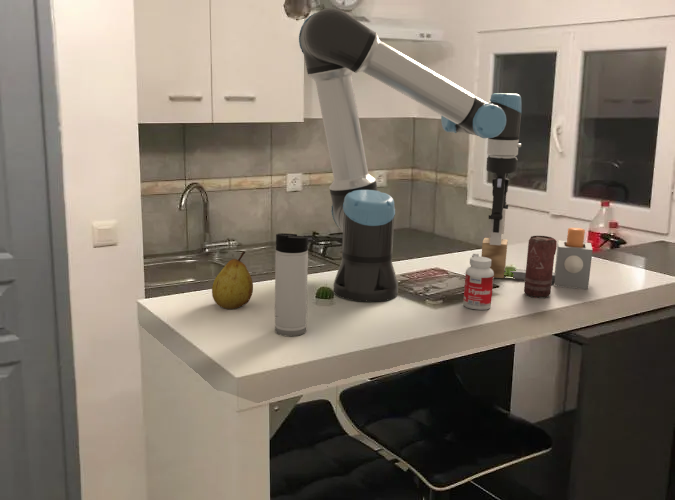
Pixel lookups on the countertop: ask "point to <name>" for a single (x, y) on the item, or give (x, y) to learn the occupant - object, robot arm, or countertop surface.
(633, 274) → the countertop surface
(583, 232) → the plunger
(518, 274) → the rail
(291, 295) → the travel mug
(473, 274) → the pill bottle
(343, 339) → the countertop surface
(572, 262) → the grey box
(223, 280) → the fruit
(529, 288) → the can
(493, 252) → the tan wooden block
